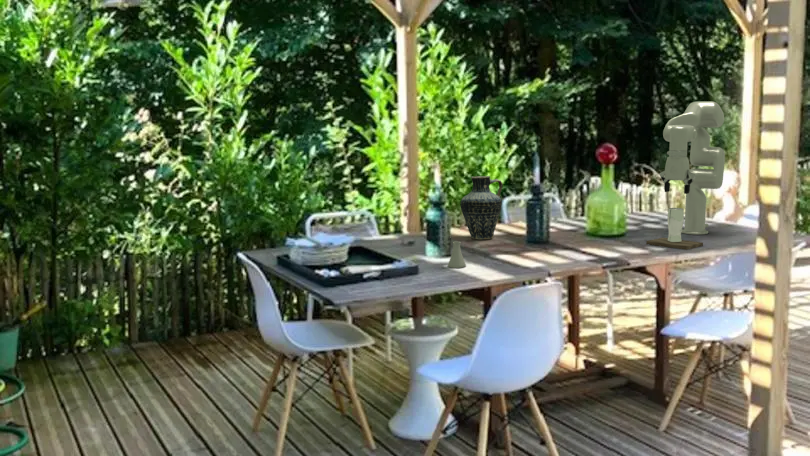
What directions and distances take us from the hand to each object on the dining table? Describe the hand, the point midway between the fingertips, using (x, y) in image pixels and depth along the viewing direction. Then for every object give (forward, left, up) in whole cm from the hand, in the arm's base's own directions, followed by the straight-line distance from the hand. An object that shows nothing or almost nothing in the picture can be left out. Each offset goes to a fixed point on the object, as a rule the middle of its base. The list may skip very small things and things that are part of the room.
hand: (676, 192), depth 367 cm
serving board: (0, 0, -24) cm, 24 cm away
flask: (+106, -32, -24) cm, 114 cm away
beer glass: (0, 0, -22) cm, 22 cm away
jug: (+49, -73, -24) cm, 91 cm away
